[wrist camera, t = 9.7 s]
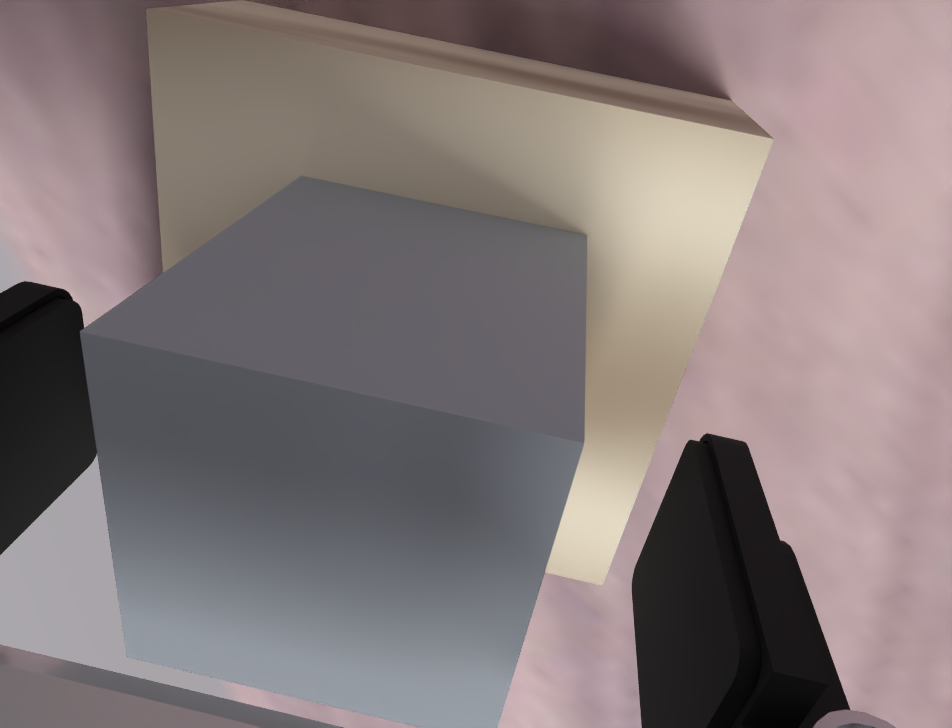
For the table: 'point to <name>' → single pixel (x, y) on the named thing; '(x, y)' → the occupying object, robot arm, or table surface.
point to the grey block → (344, 449)
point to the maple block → (475, 188)
